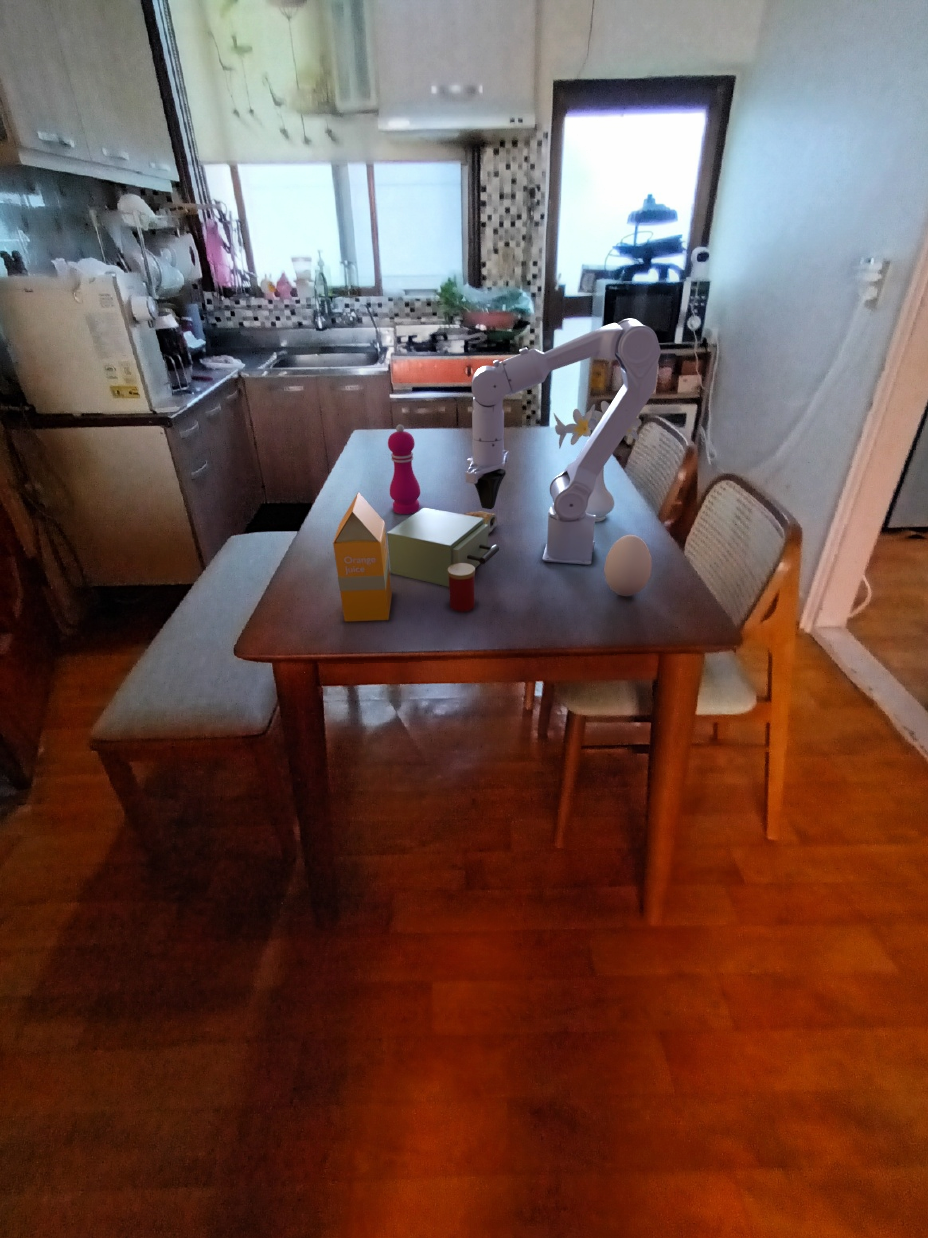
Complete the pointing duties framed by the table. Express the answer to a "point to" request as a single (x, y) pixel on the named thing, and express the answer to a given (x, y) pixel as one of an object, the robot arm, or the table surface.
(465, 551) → the drawer
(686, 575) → the table surface
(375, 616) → the orange juice
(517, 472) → the table surface
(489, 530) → the pastry
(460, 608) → the tea tin
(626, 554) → the egg
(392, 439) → the pepper mill
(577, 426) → the flower vase
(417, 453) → the table surface
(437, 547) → the cabinet
